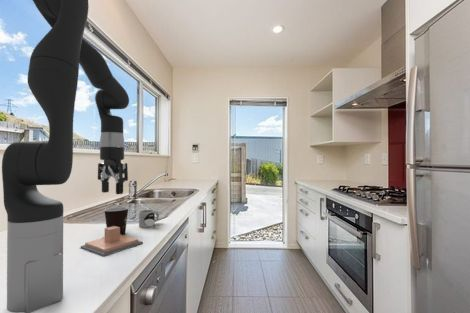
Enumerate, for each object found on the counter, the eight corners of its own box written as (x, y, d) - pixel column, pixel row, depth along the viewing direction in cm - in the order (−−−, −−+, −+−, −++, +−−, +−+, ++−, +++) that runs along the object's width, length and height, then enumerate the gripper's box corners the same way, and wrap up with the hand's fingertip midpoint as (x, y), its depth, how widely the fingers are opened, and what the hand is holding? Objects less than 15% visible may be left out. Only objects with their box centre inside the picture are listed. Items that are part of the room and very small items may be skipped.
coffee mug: (119, 238, 95) (119, 211, 95) (99, 236, 96) (99, 210, 97) (137, 229, 106) (137, 206, 106) (119, 228, 108) (118, 205, 108)
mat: (142, 243, 88) (142, 241, 88) (103, 256, 77) (103, 254, 77) (119, 237, 96) (119, 235, 96) (80, 247, 84) (80, 246, 84)
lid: (138, 242, 88) (138, 226, 88) (104, 252, 78) (104, 234, 78) (118, 236, 95) (118, 221, 95) (85, 245, 85) (85, 229, 85)
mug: (145, 228, 108) (145, 213, 108) (135, 226, 111) (135, 211, 111) (163, 223, 116) (163, 209, 116) (153, 221, 120) (153, 207, 120)
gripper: (90, 146, 88) (90, 193, 87) (113, 144, 80) (113, 195, 80) (110, 147, 94) (110, 190, 94) (134, 146, 86) (134, 193, 86)
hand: (112, 193), depth 87 cm, fingers open, 8 cm apart
